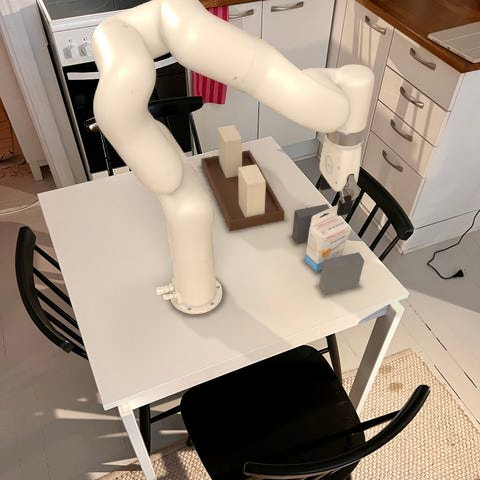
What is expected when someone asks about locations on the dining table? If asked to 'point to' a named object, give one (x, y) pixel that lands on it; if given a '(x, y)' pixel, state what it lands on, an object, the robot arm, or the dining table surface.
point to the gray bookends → (334, 269)
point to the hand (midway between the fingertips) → (334, 201)
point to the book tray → (229, 195)
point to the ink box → (325, 238)
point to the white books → (241, 172)
